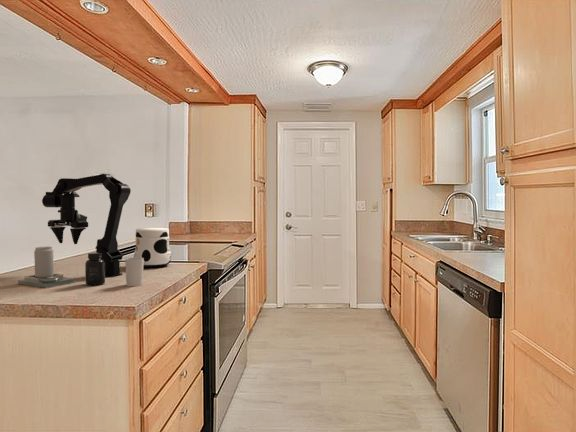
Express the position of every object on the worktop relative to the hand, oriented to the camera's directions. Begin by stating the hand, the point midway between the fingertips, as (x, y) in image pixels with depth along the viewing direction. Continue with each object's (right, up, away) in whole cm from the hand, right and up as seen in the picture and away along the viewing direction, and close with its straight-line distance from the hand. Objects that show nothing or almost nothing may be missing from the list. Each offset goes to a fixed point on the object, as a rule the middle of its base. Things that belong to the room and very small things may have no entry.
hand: (68, 243), depth 185 cm
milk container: (+30, -13, +22) cm, 39 cm away
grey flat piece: (+2, -14, -20) cm, 25 cm away
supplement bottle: (+22, -14, -22) cm, 34 cm away
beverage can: (0, -12, -18) cm, 22 cm away
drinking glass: (+37, -14, -22) cm, 45 cm away
